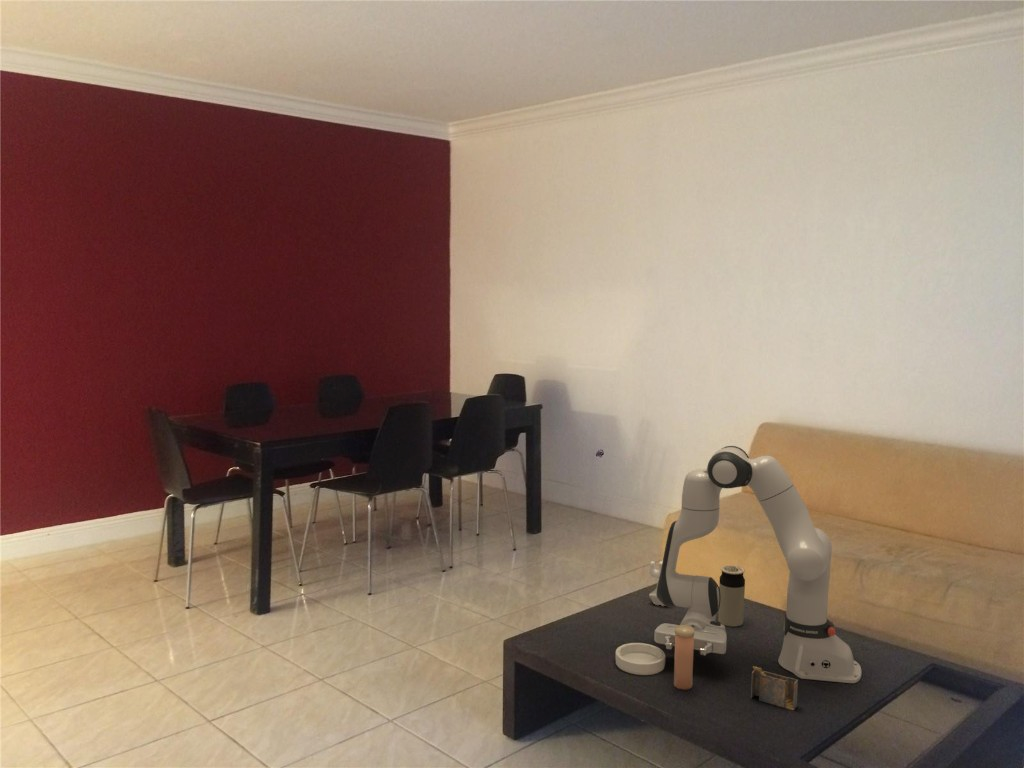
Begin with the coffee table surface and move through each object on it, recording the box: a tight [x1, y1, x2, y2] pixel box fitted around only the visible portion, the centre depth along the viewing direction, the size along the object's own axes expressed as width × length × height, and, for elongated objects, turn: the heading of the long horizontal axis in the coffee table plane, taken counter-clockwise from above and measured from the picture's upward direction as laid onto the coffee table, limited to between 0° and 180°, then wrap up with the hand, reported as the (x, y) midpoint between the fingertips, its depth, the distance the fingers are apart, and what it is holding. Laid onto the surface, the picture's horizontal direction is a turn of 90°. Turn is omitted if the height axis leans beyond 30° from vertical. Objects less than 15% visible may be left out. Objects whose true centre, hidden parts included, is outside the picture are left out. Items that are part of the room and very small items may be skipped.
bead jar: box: [673, 624, 695, 691], centre depth 228 cm, size 5×5×16 cm
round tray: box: [615, 642, 666, 676], centre depth 241 cm, size 14×14×3 cm
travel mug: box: [717, 564, 746, 628], centre depth 270 cm, size 8×8×18 cm
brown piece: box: [750, 665, 799, 711], centre depth 219 cm, size 11×3×10 cm, turn 57°
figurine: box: [649, 559, 665, 607], centre depth 286 cm, size 7×9×15 cm
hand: (685, 649), depth 230 cm, fingers open, 8 cm apart
